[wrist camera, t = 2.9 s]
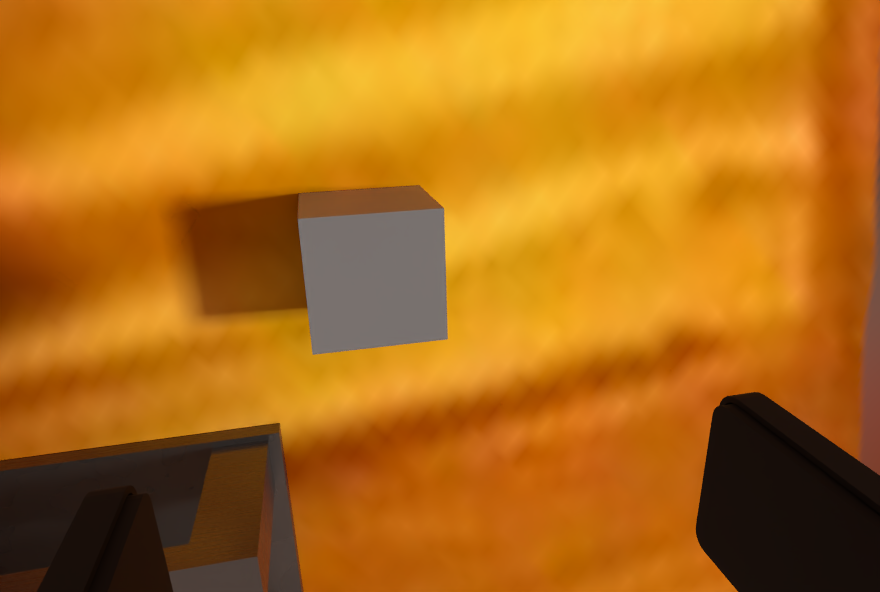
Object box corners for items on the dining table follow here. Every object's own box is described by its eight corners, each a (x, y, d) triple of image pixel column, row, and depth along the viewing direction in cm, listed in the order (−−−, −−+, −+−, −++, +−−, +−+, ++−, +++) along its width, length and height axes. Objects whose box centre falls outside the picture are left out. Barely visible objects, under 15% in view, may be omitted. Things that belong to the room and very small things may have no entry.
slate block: (418, 184, 26) (443, 208, 21) (423, 295, 28) (447, 339, 23) (298, 192, 25) (297, 218, 20) (311, 306, 27) (312, 354, 22)
